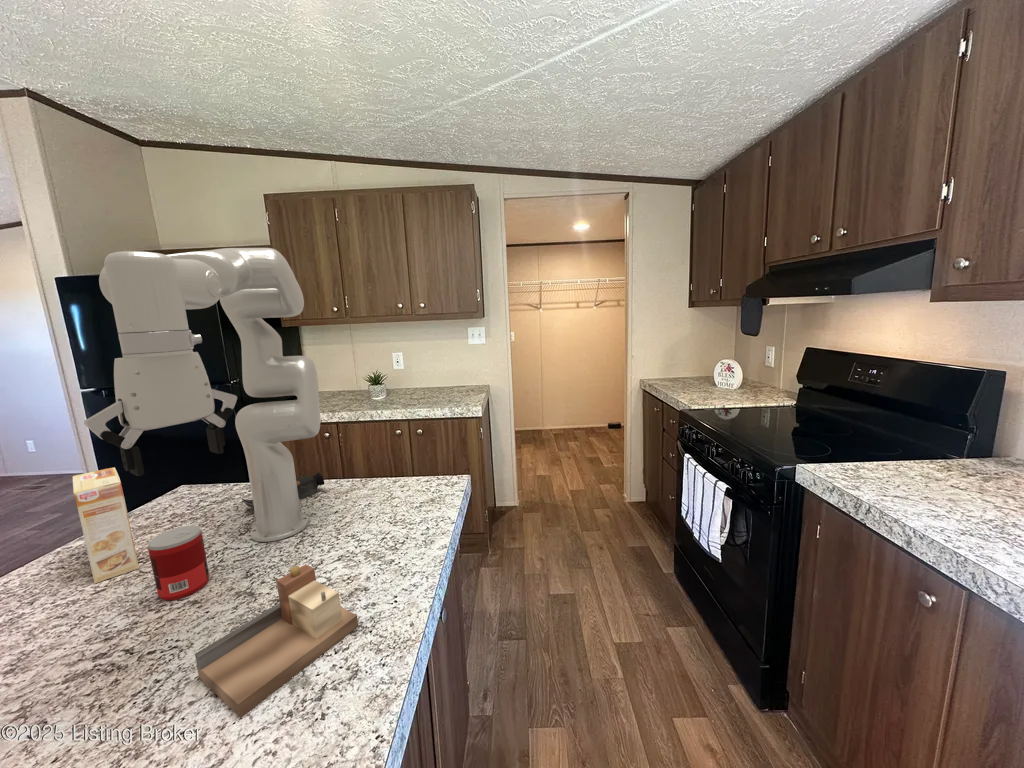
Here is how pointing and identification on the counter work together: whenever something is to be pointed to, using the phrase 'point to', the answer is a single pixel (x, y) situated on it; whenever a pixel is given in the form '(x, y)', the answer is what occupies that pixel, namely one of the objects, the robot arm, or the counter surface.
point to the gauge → (308, 602)
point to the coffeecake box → (105, 523)
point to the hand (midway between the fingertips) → (179, 462)
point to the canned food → (178, 562)
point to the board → (263, 657)
